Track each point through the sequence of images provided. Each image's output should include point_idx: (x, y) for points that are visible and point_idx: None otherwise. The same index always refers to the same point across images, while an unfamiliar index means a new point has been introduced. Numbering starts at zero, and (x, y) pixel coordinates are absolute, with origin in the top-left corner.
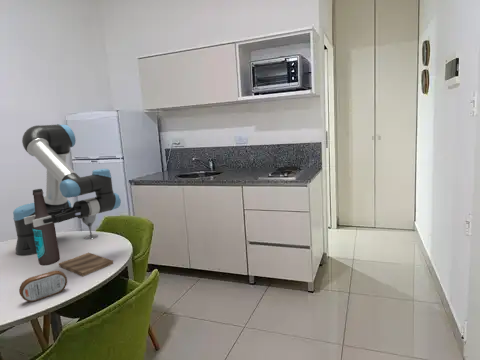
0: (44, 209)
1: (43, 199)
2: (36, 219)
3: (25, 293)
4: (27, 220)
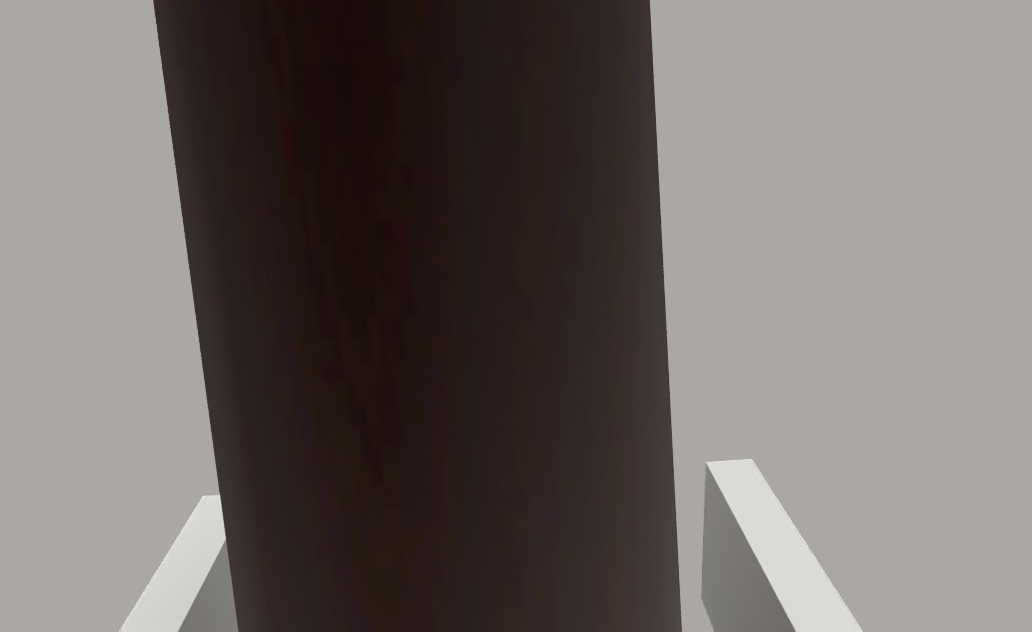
0: (233, 572)
1: (182, 83)
2: (193, 541)
3: None
4: (718, 562)
